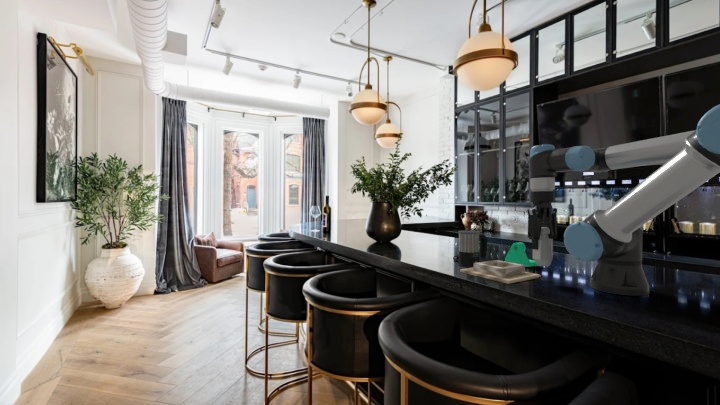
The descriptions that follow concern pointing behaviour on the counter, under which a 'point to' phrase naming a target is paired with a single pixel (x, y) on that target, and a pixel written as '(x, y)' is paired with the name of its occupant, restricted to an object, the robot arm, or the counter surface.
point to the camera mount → (519, 255)
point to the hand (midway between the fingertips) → (542, 258)
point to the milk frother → (470, 248)
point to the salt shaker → (545, 248)
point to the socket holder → (500, 271)
